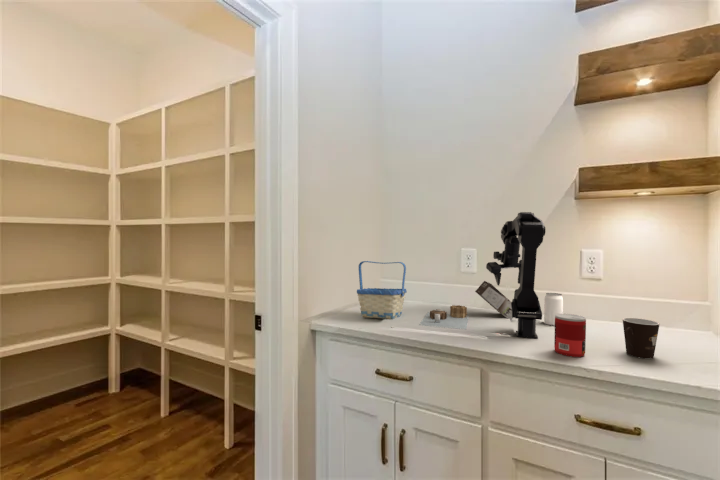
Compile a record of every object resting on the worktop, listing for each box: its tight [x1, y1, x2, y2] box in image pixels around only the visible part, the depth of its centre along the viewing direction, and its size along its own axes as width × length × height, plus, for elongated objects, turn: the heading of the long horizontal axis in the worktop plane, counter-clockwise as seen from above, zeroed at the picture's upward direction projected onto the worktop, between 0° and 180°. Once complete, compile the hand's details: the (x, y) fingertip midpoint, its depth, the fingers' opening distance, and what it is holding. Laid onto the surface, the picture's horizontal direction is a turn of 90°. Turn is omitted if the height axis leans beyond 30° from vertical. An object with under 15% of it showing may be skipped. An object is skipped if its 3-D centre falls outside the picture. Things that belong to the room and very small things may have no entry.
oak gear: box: [449, 304, 468, 318], centre depth 149 cm, size 6×6×4 cm
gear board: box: [418, 311, 469, 330], centre depth 143 cm, size 24×17×4 cm
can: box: [543, 292, 564, 327], centre depth 143 cm, size 6×6×12 cm
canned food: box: [553, 313, 587, 358], centre depth 107 cm, size 8×8×11 cm
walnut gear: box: [429, 308, 448, 320], centre depth 146 cm, size 7×7×3 cm
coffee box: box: [474, 280, 515, 321], centre depth 151 cm, size 9×6×16 cm
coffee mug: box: [622, 317, 660, 359], centre depth 106 cm, size 12×9×10 cm
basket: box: [356, 260, 407, 320], centre depth 151 cm, size 21×16×24 cm
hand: (508, 284), depth 156 cm, fingers open, 9 cm apart
